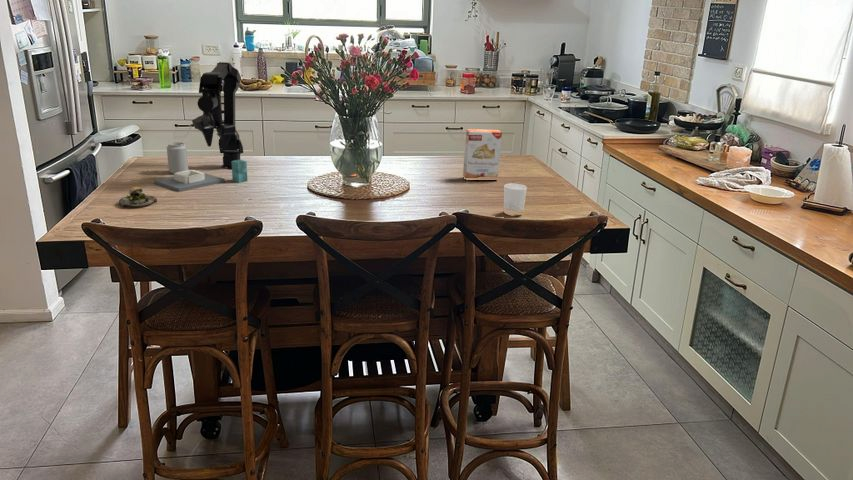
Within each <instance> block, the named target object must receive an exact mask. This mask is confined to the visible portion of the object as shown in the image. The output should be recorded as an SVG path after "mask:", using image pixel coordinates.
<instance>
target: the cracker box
mask: <svg viewBox="0 0 853 480" xmlns="http://www.w3.org/2000/svg"><path fill="white" fill-rule="evenodd" d="M502 135H503V134H502V131H501V130H499V129H481V128H479V129H477V128H475V129H474V128H466V129H465V141H464V142H465V144H464V155H463V157H464V158H463V170H462V171H463V172H462V177H463V176H464V177H465V178H478V177H498V178H499V166H500V156H501V149H502V148H501V147H502V146H501V145H502Z"/></svg>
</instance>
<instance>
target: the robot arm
mask: <svg viewBox="0 0 853 480" xmlns="http://www.w3.org/2000/svg"><path fill="white" fill-rule="evenodd" d="M240 83H241V74H240V72H239V70H238V69H237V68H235V67H234V66H233V65H232V63H231V62H227V61H226V62H223V61H219V62H217V63H216V66H215V67H214V68H213V70H211V71H207V72H204V73H203V74H202V75H201V76H200V80H199V86H198V88H199V89H198V94H202V95H201V96H200V97H199V98H198V100H197V108H198V109H199V110H200V111H201V112H202V113H203V114H201V115H199V116H197V117H196V118H194V119H192V120H191V122H192V124H193V127H194V129H195V130H198V131H200V132H201V134H202V135H203V138H204V140H205V142H206V146H207V147H211V146H212V143H213V137H214V132H215V131H216V132H217V133H216V135H217V137H218V138H219V139H218V147H219V154H223V155H222V165H221V168H225V169H228V170H232V162H231V161H234V160H241V154H244V146H243V142H242V141H241V139H240V134H239V132H238V131H237V127H236V93H237V91H238V90H239V88H240ZM222 93H223V107H222ZM214 129H215V131H214Z"/></svg>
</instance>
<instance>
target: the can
mask: <svg viewBox="0 0 853 480" xmlns="http://www.w3.org/2000/svg"><path fill="white" fill-rule="evenodd" d="M166 153H167V154H166V155H167V166H168V172H169V173H171V174H173V175H174V173H176V172H182V171H187V170H189V162H188V161H189V160H188V149H187V145H185V143H184V142H183V141H182V142H179V141H175V142H168V144H167V146H166Z"/></svg>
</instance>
